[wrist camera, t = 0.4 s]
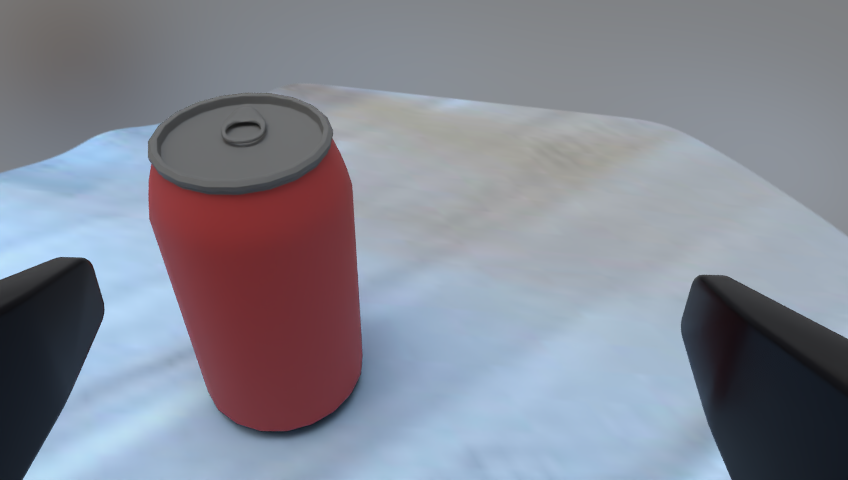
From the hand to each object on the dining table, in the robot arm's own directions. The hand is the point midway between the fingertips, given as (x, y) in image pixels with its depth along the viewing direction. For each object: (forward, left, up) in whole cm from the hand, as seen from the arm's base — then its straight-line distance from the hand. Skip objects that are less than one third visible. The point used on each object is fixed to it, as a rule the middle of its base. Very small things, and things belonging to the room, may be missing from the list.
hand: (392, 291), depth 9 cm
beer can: (+10, +5, -15) cm, 19 cm away
